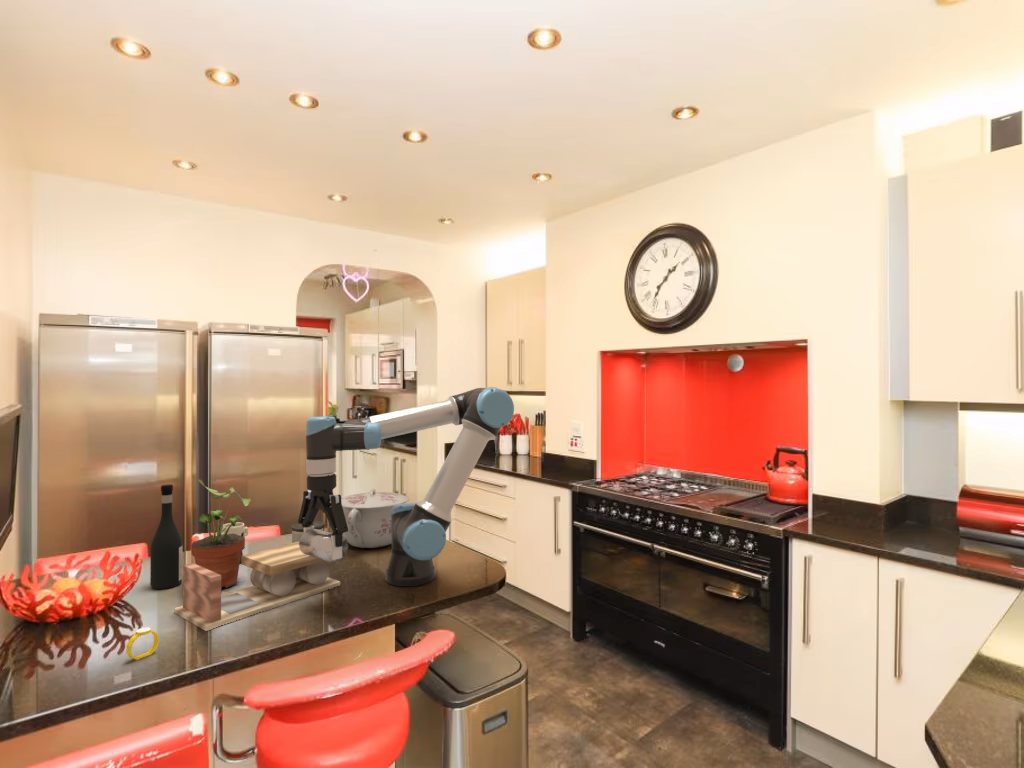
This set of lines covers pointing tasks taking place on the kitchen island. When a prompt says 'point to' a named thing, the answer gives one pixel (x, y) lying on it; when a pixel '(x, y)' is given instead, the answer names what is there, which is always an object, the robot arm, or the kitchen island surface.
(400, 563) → the robot arm
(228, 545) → the potted plant
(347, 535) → the chamber pot
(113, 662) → the kitchen island surface
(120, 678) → the kitchen island surface
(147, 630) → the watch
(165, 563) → the wine bottle
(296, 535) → the coffee can
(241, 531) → the character mug
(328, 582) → the roller bed
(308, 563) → the oak slab
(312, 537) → the loose roller
